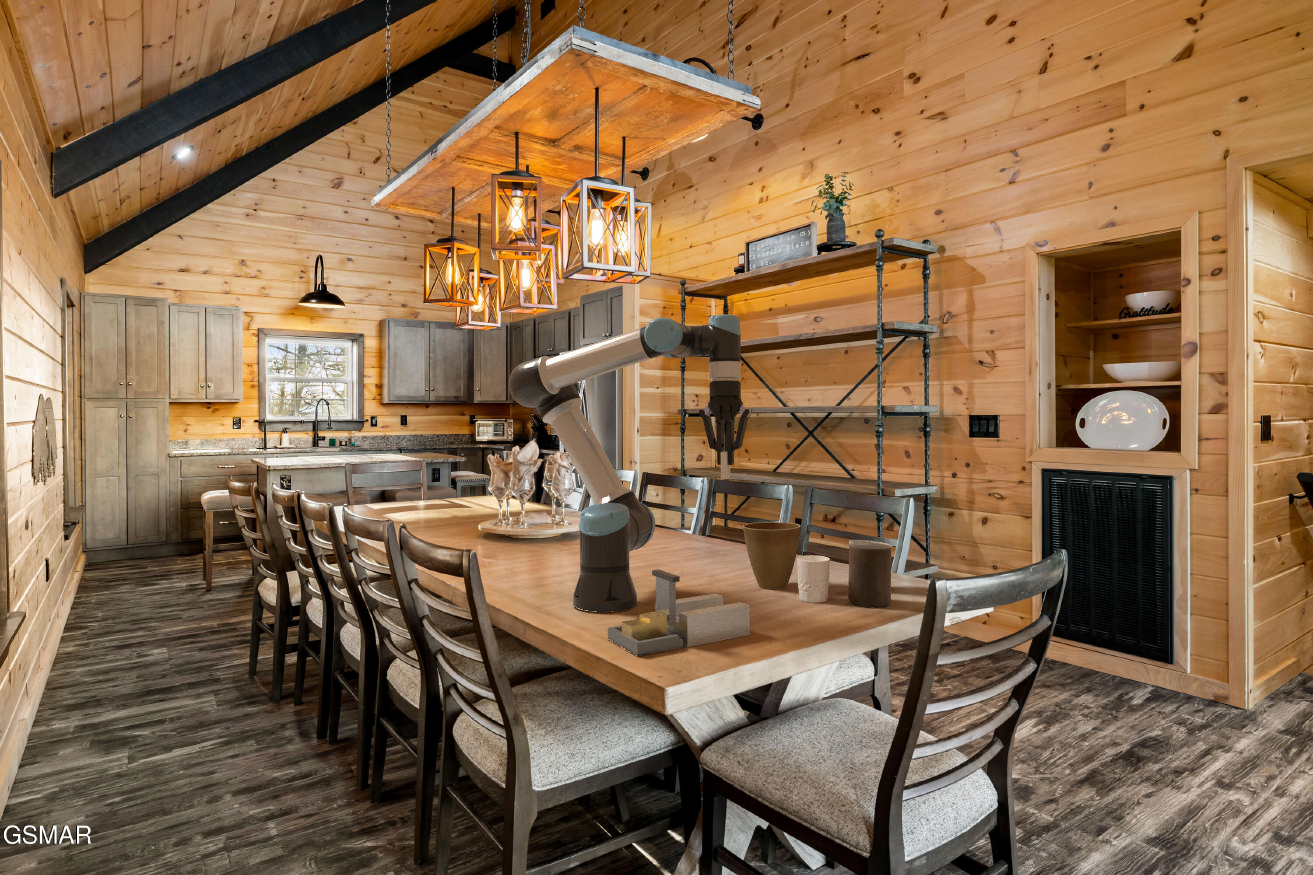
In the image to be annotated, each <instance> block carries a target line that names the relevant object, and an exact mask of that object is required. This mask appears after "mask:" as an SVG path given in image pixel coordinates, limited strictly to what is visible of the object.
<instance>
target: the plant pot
mask: <svg viewBox="0 0 1313 875" xmlns="http://www.w3.org/2000/svg"><path fill="white" fill-rule="evenodd" d="M742 528H743V529H742V530H743V535H744V536H743V537H744V541H745V547H746V551H747V556H748V560H749V564H750V565H751V569H752V572H753V575H754V577H755V580H756V582H757V586H758V587H759V588H762V589H767V590H781V589H786V588H787V587H788V585H789V582H790V579H791V577H792V573H793V570H794V566H795V562H796V560H797V554H798V548H799V542H800V535H801V524H798V523H794V522H782V521H781V522H780V521H777V522H776V521H763V522H761V521H760V522H752V523H747V524H743V525H742Z"/></svg>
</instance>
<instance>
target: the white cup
mask: <svg viewBox="0 0 1313 875" xmlns="http://www.w3.org/2000/svg"><path fill="white" fill-rule="evenodd" d="M830 563H831V558H829V557H826V556H822V555H811V554H809V555H799V556H796V572H797V573H796V574H797V576H796V577H797V588H798V596H799V597H798V599H799V600H800V601H802V602H805V603H811V604H812V603H813V604H814V603H815V604H817V603H818V604H819V603H820V604H821V603H826V602H828V598H829V597H828V595H829V594H828V593H829V592H828V591H829V584H830V569H831V566H830V565H831V564H830Z"/></svg>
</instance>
